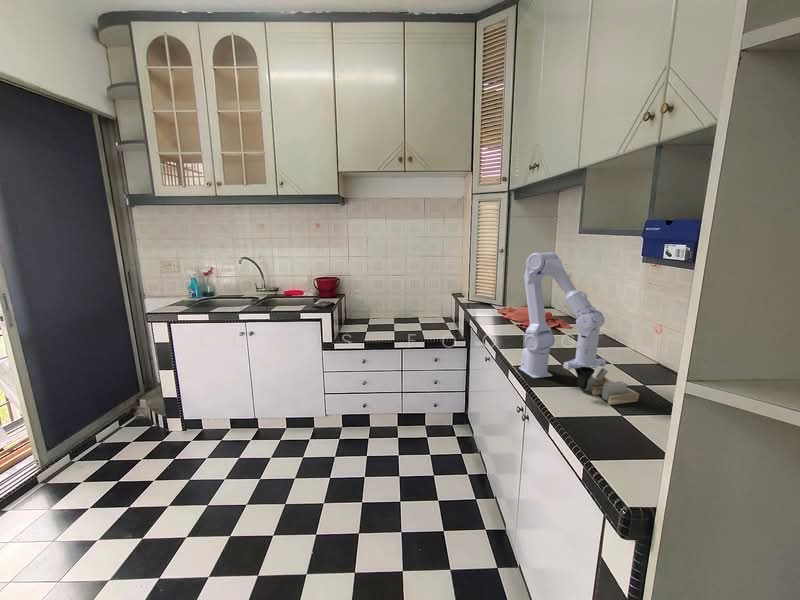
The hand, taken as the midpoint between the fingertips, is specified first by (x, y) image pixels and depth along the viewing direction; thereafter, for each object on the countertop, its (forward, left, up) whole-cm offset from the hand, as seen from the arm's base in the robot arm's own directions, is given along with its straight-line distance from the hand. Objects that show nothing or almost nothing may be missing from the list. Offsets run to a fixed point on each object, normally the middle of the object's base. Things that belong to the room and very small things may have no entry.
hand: (581, 388), depth 113 cm
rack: (+3, +7, -1) cm, 7 cm away
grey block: (+6, +7, -1) cm, 9 cm away
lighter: (0, +4, -1) cm, 4 cm away
